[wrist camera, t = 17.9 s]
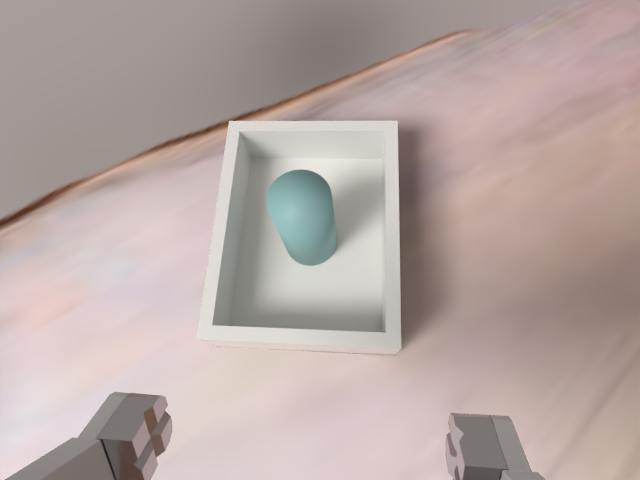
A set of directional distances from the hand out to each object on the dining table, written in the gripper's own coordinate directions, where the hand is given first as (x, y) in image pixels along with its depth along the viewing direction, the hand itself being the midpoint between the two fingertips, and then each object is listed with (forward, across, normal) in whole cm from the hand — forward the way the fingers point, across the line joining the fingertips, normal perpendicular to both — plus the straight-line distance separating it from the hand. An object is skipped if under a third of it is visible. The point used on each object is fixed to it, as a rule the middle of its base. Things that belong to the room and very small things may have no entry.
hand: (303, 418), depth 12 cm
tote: (+24, +3, +6) cm, 24 cm away
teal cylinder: (+23, +3, +5) cm, 24 cm away
